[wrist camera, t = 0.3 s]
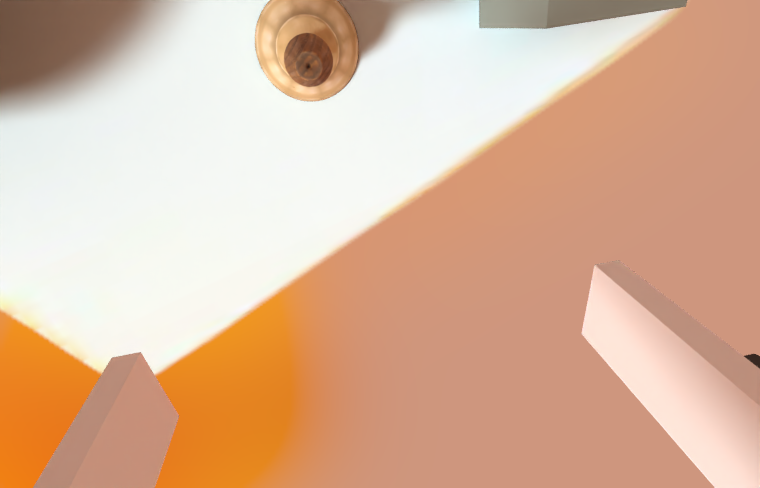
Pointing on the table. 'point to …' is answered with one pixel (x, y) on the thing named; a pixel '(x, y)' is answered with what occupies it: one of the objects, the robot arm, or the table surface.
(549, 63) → the table surface
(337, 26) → the hand bell
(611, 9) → the grey hole block
